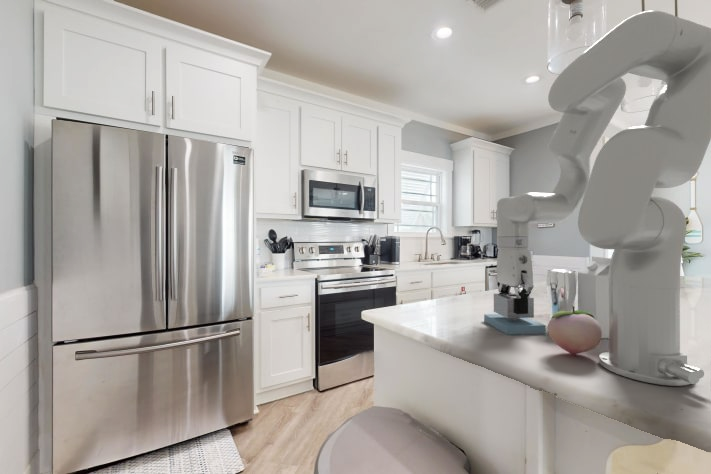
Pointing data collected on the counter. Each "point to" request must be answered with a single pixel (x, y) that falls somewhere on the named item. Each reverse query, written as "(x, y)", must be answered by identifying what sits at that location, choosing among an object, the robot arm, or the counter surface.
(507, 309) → the gray square block
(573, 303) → the beer glass
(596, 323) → the decorative fruit
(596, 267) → the milk carton
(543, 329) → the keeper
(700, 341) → the counter surface
